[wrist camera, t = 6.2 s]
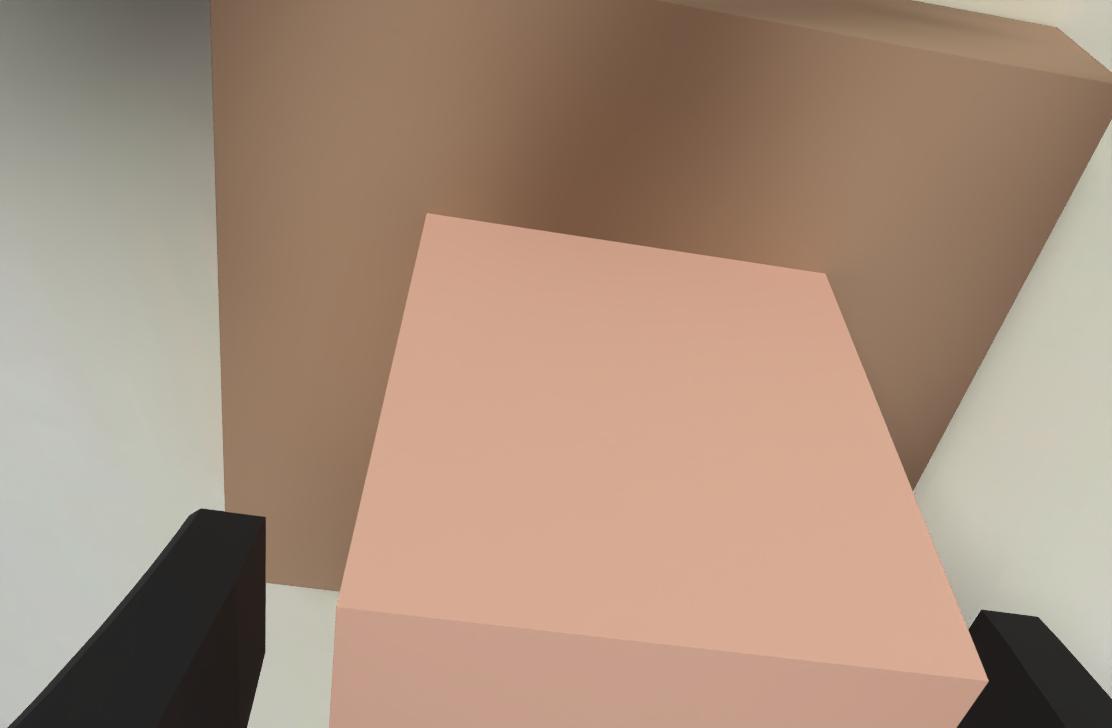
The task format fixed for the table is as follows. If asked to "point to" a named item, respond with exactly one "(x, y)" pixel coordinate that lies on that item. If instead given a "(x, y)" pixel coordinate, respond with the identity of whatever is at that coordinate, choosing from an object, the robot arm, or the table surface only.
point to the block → (636, 505)
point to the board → (615, 190)
